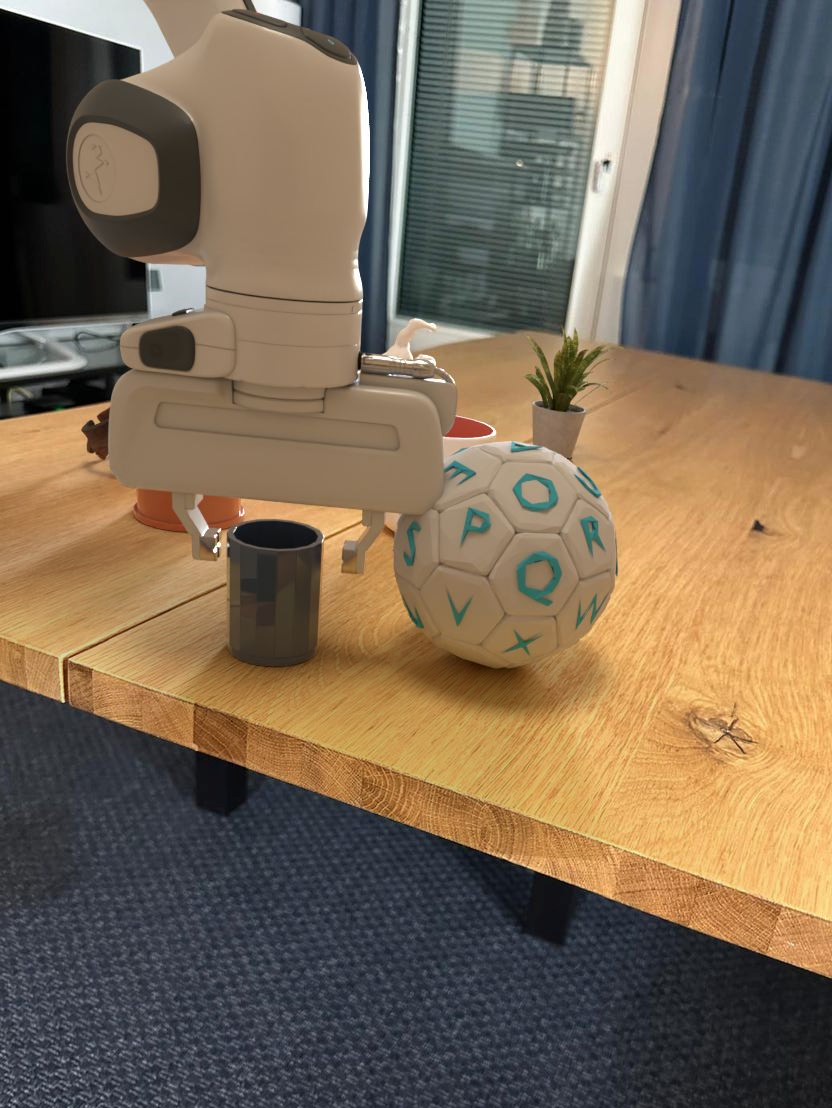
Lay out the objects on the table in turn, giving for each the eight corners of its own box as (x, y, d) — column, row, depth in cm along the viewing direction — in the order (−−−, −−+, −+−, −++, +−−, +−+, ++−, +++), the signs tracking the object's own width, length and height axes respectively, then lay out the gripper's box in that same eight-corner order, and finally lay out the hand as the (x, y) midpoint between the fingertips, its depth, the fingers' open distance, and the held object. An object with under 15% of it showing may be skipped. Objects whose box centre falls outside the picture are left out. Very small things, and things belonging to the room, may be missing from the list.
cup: (461, 555, 83) (473, 445, 79) (360, 531, 85) (368, 423, 81) (497, 527, 91) (511, 426, 87) (405, 505, 94) (414, 407, 90)
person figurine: (419, 347, 120) (434, 309, 135) (323, 356, 121) (349, 317, 136) (433, 442, 127) (446, 395, 142) (343, 449, 129) (366, 402, 144)
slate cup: (217, 662, 59) (217, 545, 56) (237, 623, 65) (238, 514, 62) (311, 671, 60) (316, 555, 57) (323, 632, 65) (329, 524, 62)
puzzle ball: (344, 663, 61) (358, 440, 55) (442, 594, 74) (463, 406, 68) (557, 732, 56) (600, 496, 50) (623, 646, 69) (664, 448, 63)
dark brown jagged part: (173, 490, 91) (124, 416, 87) (103, 513, 95) (53, 443, 91) (225, 436, 100) (183, 366, 96) (159, 459, 104) (116, 393, 100)
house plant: (632, 473, 118) (657, 340, 111) (532, 471, 113) (553, 331, 106) (583, 444, 130) (603, 322, 123) (491, 440, 125) (507, 314, 118)
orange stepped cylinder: (118, 525, 79) (112, 396, 75) (151, 493, 88) (147, 376, 84) (231, 537, 80) (231, 409, 76) (253, 504, 89) (255, 388, 84)
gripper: (460, 355, 58) (440, 562, 64) (126, 319, 56) (137, 534, 62) (461, 371, 52) (439, 597, 58) (89, 332, 51) (105, 567, 56)
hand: (280, 564), depth 60 cm, fingers open, 8 cm apart
